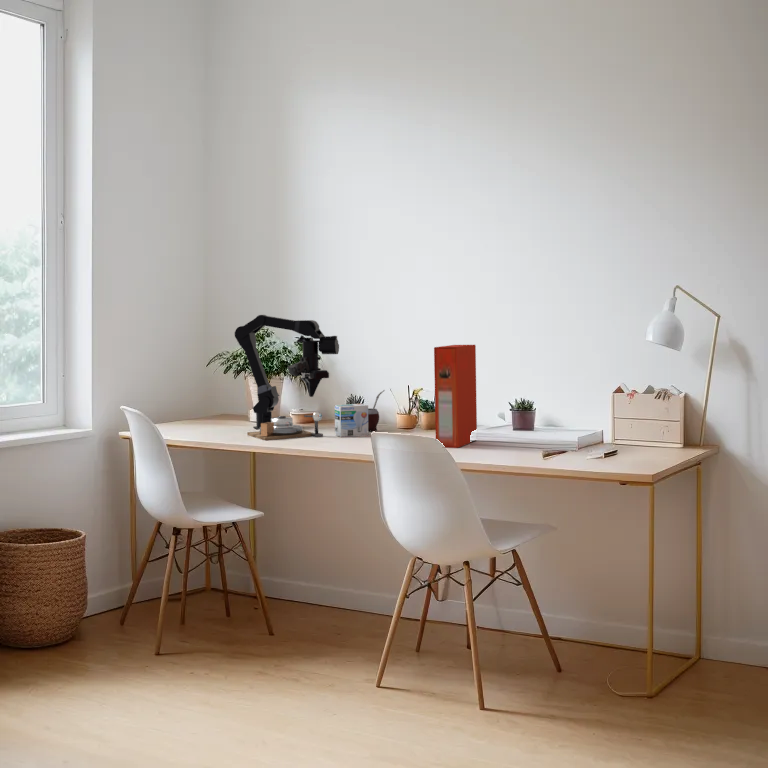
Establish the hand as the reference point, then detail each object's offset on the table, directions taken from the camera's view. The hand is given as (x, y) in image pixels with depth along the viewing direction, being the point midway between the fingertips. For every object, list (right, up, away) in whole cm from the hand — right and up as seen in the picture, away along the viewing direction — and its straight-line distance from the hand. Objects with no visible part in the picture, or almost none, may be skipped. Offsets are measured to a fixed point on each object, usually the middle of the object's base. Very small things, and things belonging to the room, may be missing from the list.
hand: (311, 396), depth 367 cm
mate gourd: (+22, -13, -7) cm, 26 cm away
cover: (-9, -11, -17) cm, 22 cm away
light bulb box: (+15, -14, -18) cm, 27 cm away
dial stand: (+2, -14, -20) cm, 24 cm away
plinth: (-9, -14, -16) cm, 23 cm away
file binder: (+50, -15, -43) cm, 68 cm away
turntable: (-10, -12, -18) cm, 24 cm away
